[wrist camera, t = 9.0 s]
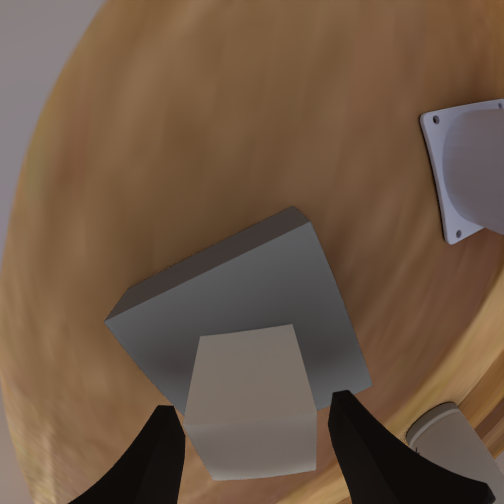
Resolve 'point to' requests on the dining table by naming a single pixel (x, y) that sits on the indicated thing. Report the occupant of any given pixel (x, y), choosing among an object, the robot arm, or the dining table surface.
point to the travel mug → (455, 447)
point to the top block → (251, 405)
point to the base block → (243, 308)
